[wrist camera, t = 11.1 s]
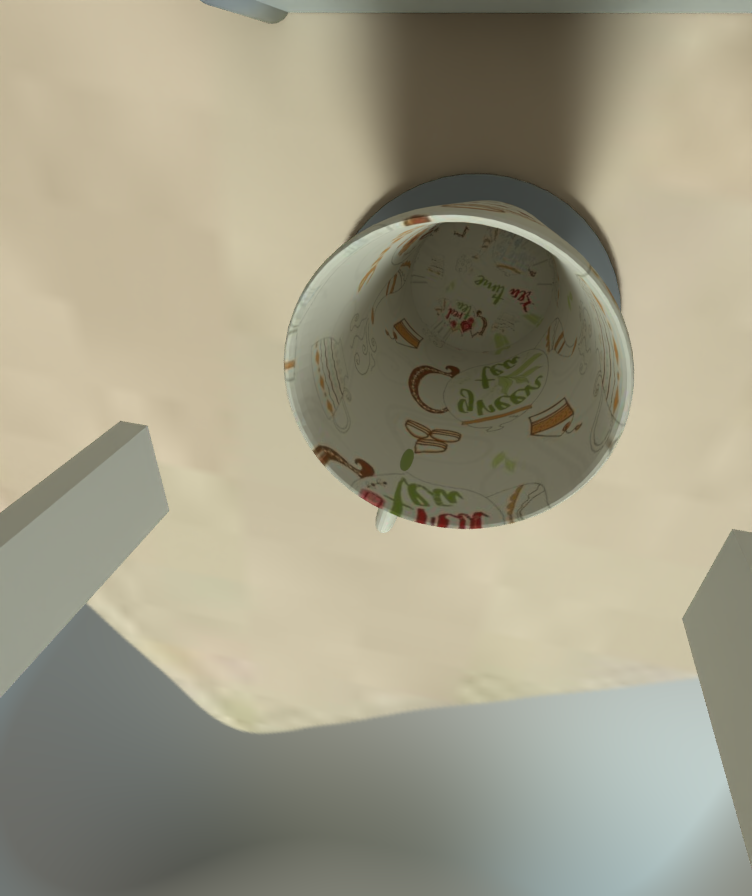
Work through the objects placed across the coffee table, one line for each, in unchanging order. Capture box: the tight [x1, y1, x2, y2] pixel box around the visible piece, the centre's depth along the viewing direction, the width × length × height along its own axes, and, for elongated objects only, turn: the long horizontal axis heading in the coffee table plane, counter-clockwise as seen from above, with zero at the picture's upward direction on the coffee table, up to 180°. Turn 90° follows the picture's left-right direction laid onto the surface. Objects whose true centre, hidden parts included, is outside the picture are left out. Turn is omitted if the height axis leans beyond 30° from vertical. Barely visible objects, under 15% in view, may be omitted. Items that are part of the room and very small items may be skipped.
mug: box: [284, 200, 634, 533], centre depth 18 cm, size 8×13×10 cm, turn 166°
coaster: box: [356, 174, 621, 312], centre depth 22 cm, size 12×12×1 cm
